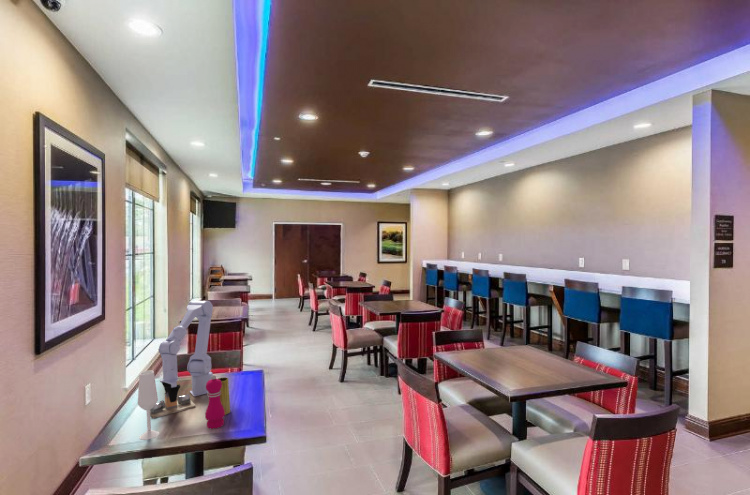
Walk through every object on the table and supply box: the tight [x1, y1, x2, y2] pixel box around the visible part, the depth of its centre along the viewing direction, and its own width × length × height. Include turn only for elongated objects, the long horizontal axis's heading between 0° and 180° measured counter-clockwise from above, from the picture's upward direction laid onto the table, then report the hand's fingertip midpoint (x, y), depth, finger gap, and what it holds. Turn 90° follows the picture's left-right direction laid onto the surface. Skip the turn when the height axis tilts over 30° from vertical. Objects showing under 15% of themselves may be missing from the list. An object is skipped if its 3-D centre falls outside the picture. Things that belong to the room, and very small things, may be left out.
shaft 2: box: [177, 393, 192, 405], centre depth 184 cm, size 5×4×5 cm
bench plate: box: [150, 400, 196, 419], centre depth 181 cm, size 17×11×1 cm, turn 127°
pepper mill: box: [204, 374, 226, 430], centre depth 163 cm, size 7×7×20 cm
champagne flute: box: [137, 370, 160, 441], centre depth 156 cm, size 7×7×24 cm
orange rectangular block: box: [164, 392, 177, 409], centre depth 181 cm, size 4×4×6 cm
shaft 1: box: [150, 400, 165, 414], centre depth 176 cm, size 5×4×5 cm
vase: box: [217, 377, 231, 416], centre depth 175 cm, size 6×6×14 cm
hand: (171, 399), depth 181 cm, fingers open, 7 cm apart
